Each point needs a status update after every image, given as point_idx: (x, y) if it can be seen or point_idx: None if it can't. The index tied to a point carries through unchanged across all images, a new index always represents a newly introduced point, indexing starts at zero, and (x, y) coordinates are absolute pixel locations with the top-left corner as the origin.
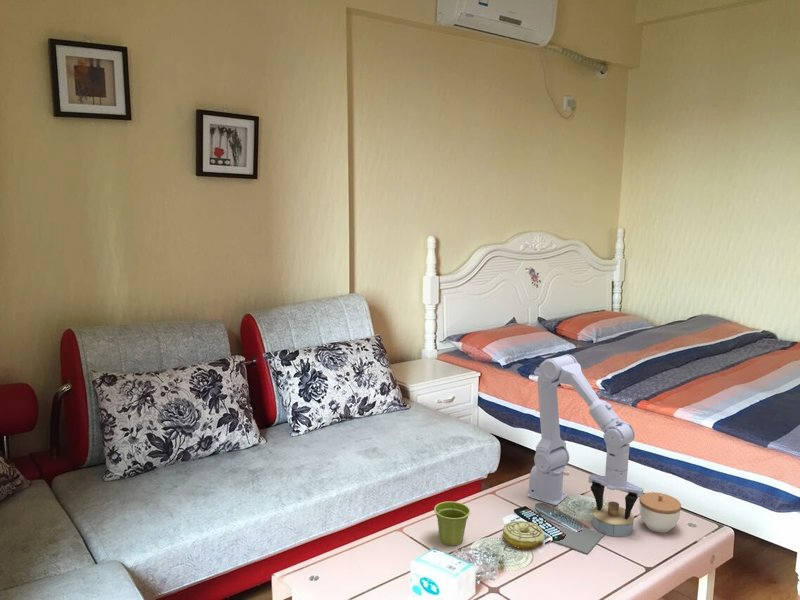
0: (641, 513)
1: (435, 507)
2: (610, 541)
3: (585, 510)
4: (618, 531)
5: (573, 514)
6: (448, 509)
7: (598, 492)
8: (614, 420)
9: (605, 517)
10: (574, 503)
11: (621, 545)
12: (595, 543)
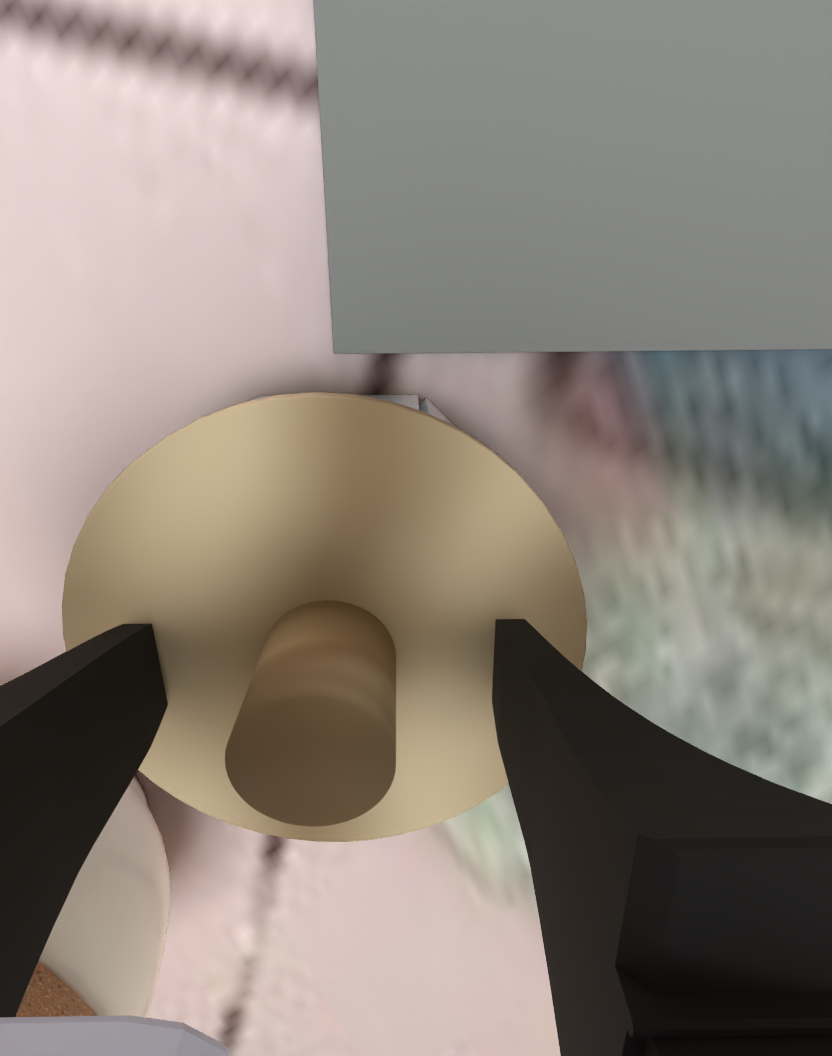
0: None
1: None
2: (227, 268)
3: (664, 701)
4: None
5: (752, 567)
6: None
7: (605, 801)
8: None
9: (366, 508)
10: (787, 753)
11: (95, 264)
12: (321, 25)
